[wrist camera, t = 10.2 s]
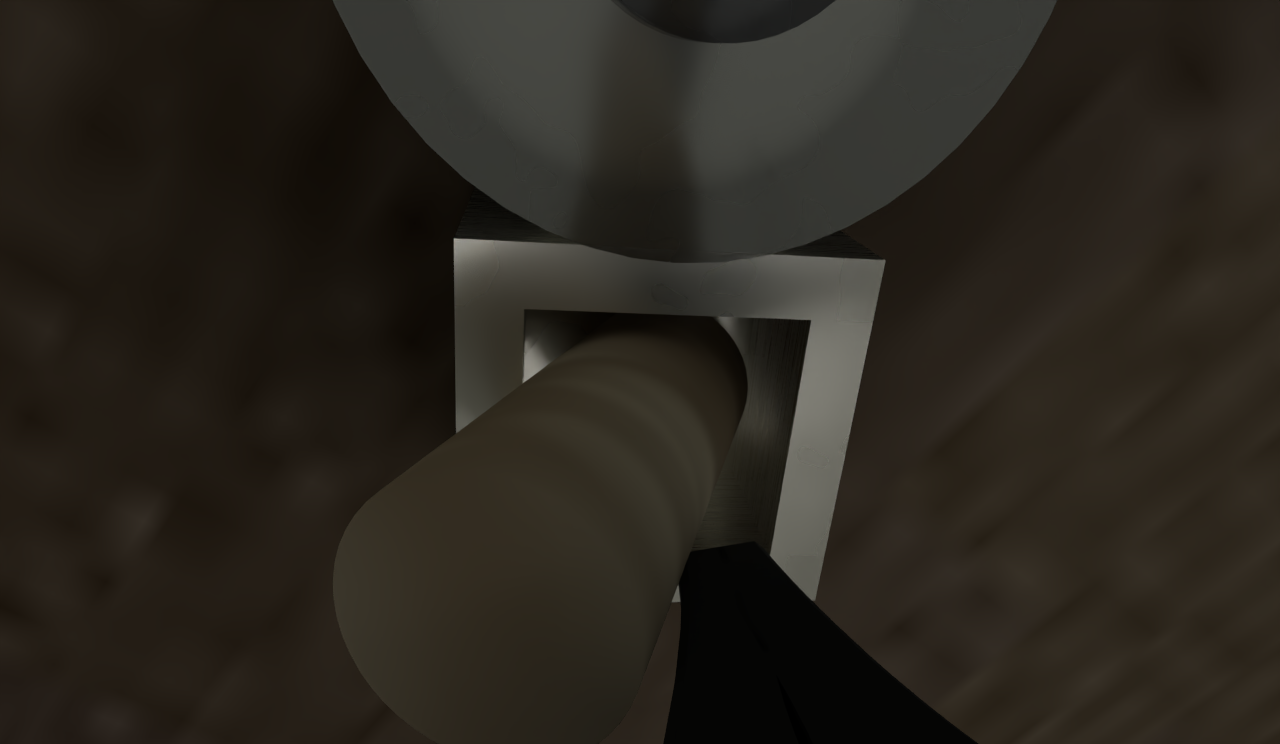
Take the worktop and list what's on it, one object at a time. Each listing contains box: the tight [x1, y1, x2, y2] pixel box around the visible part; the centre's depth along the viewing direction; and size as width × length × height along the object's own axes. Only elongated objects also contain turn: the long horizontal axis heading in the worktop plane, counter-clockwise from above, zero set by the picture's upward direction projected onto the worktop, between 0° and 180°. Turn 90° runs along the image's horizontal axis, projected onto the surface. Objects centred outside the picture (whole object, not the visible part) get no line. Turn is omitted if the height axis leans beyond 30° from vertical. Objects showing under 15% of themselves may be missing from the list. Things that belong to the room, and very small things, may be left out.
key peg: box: [333, 313, 748, 744], centre depth 11 cm, size 3×3×8 cm
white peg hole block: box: [333, 0, 1057, 602], centre depth 12 cm, size 16×10×5 cm, turn 176°
